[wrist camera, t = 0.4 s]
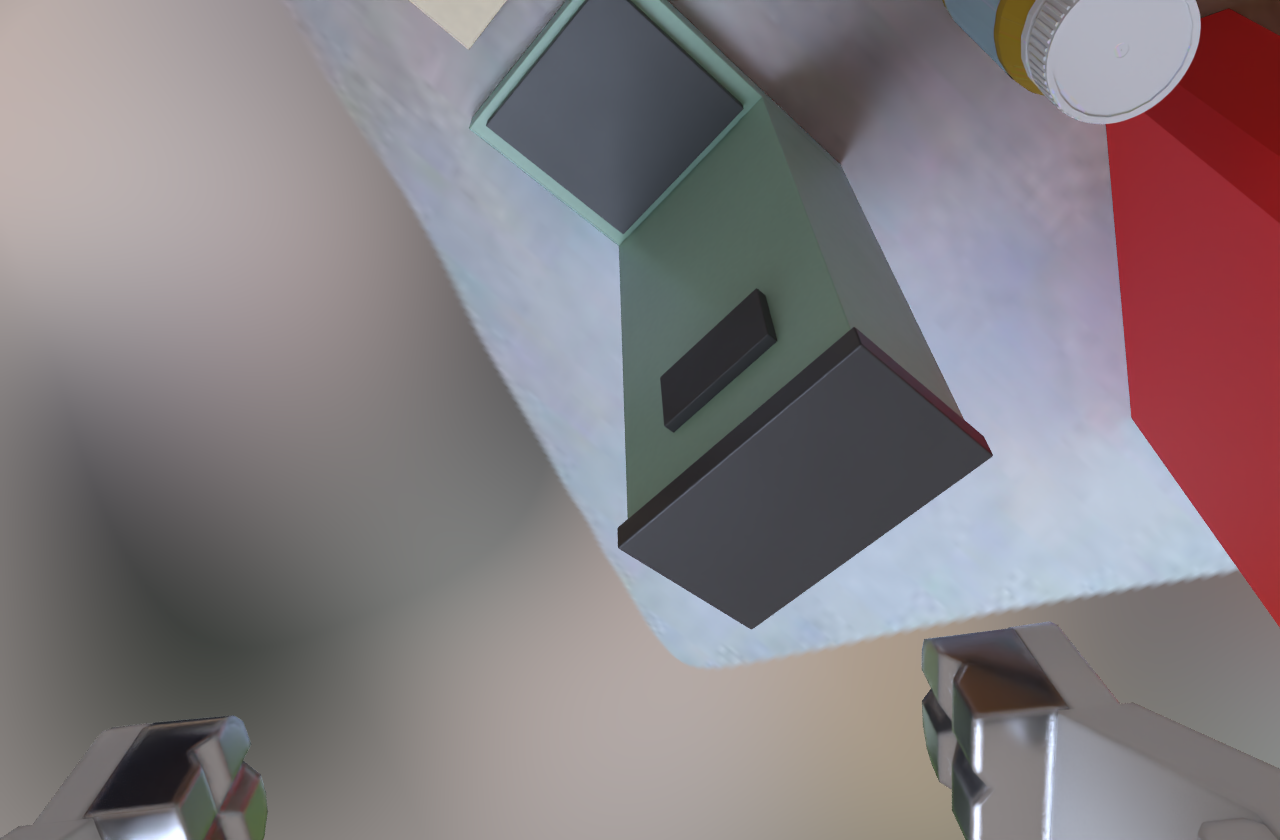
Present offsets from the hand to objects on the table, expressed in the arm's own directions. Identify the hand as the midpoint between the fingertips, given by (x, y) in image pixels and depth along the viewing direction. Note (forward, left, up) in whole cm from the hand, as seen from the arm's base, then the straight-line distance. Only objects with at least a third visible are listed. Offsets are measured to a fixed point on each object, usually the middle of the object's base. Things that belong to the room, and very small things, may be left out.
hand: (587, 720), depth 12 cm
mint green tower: (+7, +10, -48) cm, 49 cm away
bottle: (-12, +17, -48) cm, 53 cm away
